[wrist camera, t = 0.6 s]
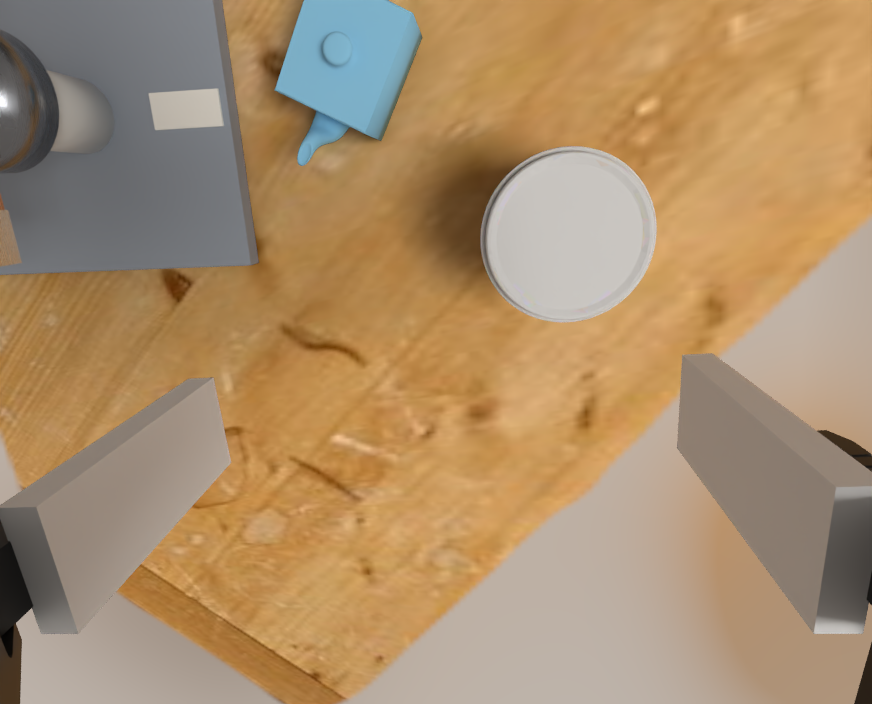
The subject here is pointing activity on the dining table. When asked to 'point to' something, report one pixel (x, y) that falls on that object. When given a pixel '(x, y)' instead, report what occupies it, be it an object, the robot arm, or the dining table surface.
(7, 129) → the t handle
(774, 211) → the dining table surface
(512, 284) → the coffee cup
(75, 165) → the striped base plate
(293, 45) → the teapot
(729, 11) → the dining table surface
